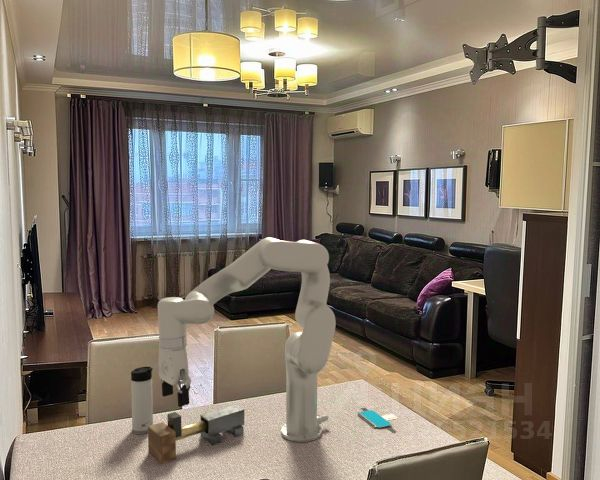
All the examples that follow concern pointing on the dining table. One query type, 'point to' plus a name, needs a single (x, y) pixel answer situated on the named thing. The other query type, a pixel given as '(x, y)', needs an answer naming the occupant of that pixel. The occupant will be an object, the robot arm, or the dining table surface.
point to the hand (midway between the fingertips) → (175, 400)
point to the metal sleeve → (223, 423)
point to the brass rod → (188, 430)
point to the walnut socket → (162, 443)
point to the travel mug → (141, 399)
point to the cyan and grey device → (377, 419)
